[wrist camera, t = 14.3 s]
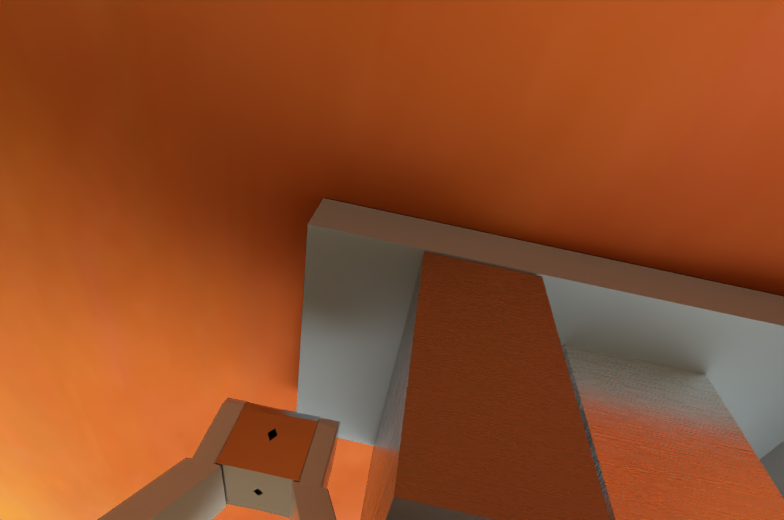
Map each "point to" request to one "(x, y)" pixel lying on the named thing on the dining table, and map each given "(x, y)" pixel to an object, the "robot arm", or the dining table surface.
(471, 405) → the jaw
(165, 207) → the dining table surface
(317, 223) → the vise base
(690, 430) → the block
